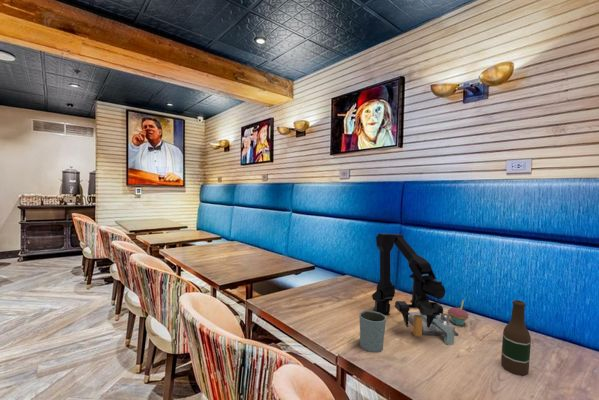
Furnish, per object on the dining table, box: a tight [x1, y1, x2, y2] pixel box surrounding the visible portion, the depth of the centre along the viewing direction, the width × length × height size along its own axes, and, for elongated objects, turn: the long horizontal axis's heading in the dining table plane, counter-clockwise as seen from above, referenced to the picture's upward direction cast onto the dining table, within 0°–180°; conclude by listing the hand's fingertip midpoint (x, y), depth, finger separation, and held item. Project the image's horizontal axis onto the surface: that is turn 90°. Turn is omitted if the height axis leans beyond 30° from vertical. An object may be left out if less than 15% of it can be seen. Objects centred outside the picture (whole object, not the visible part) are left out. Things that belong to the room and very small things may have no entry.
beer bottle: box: [500, 299, 532, 377], centre depth 100 cm, size 8×8×24 cm
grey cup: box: [358, 310, 387, 354], centre depth 111 cm, size 10×10×12 cm
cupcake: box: [447, 299, 469, 327], centre depth 135 cm, size 9×8×12 cm
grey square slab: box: [408, 311, 459, 345], centre depth 127 cm, size 16×24×6 cm
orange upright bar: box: [412, 315, 423, 337], centre depth 122 cm, size 3×3×8 cm
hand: (417, 326), depth 122 cm, fingers open, 9 cm apart
